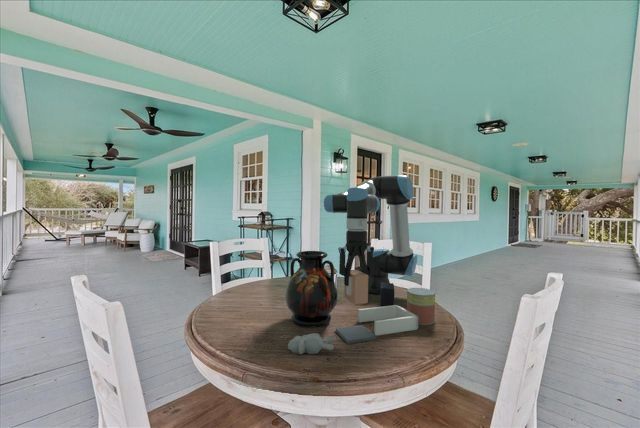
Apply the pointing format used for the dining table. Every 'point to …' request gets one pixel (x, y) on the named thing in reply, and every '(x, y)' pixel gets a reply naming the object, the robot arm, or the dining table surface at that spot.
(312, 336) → the bunny figurine
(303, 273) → the amphora vase
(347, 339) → the slate mat
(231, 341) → the dining table surface
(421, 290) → the canned food
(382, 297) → the small box
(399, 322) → the slot rack
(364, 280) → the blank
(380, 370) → the dining table surface
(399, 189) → the robot arm
